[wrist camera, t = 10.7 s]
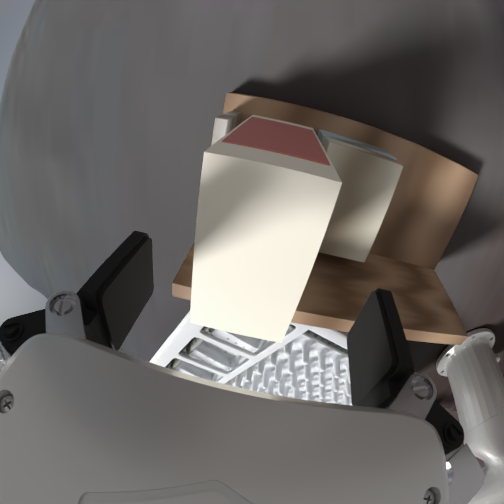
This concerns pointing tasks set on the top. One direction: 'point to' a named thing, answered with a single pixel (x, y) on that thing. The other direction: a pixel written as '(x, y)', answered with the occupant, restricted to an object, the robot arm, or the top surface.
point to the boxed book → (259, 226)
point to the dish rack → (264, 360)
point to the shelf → (393, 241)
